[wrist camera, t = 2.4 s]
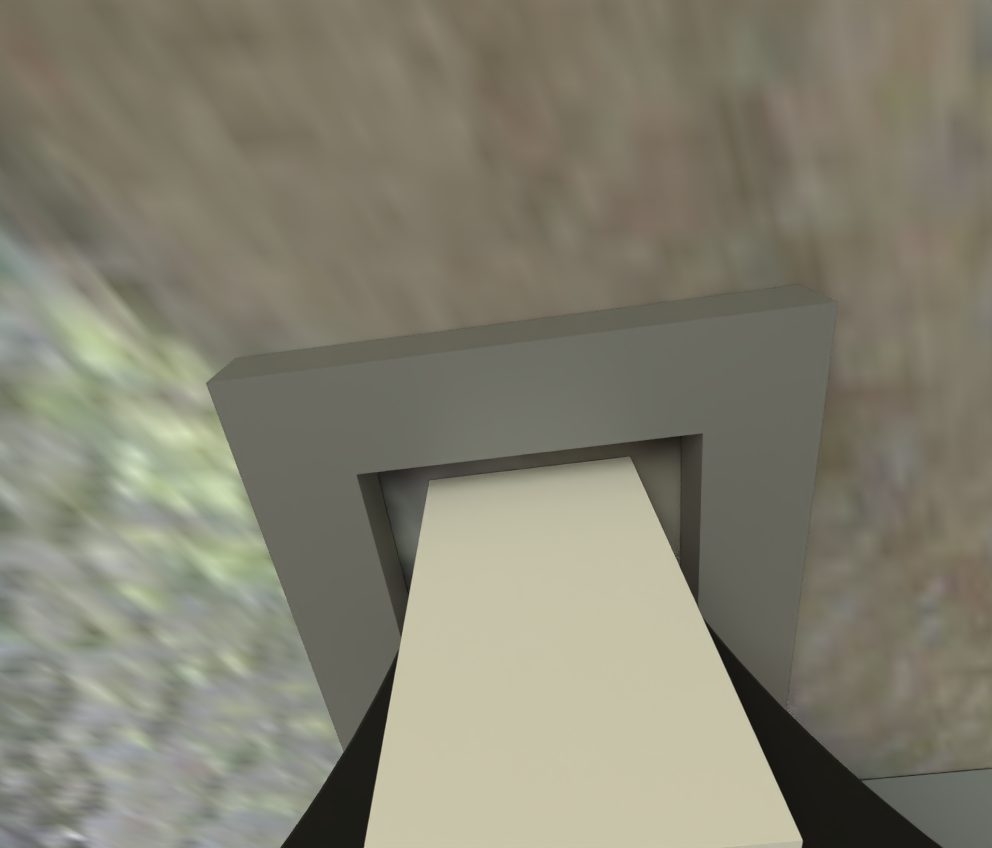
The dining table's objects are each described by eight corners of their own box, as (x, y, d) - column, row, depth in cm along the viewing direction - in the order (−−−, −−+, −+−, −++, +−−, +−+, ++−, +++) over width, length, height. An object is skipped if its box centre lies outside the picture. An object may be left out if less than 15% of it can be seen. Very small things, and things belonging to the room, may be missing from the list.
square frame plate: (800, 284, 10) (838, 301, 9) (755, 742, 15) (776, 788, 14) (234, 358, 10) (205, 383, 9) (379, 778, 16) (371, 825, 15)
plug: (630, 456, 11) (870, 989, 4) (637, 672, 14) (794, 1232, 7) (429, 480, 12) (332, 1029, 4) (473, 689, 14) (456, 1250, 7)
